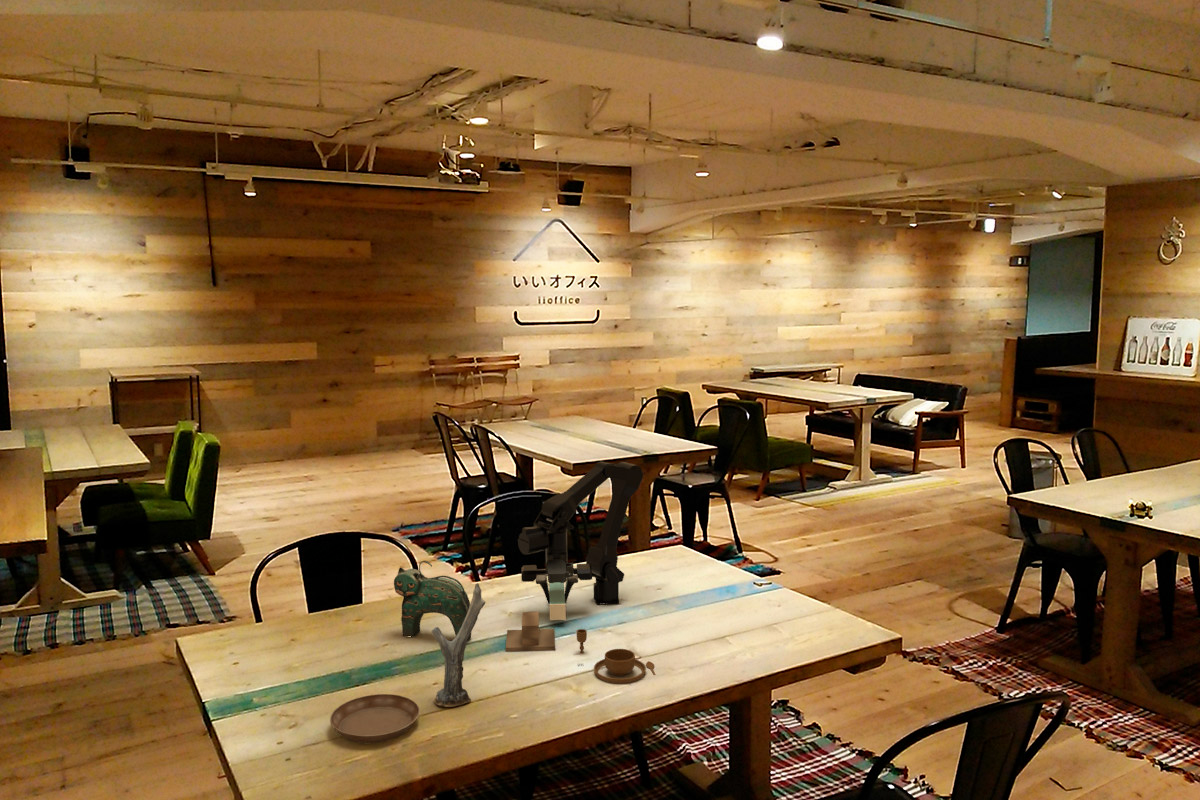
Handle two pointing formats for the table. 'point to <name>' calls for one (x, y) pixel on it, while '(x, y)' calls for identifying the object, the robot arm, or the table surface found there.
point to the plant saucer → (375, 718)
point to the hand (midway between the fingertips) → (557, 603)
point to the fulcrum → (530, 636)
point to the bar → (557, 601)
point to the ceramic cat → (430, 599)
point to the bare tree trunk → (457, 655)
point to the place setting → (616, 662)
